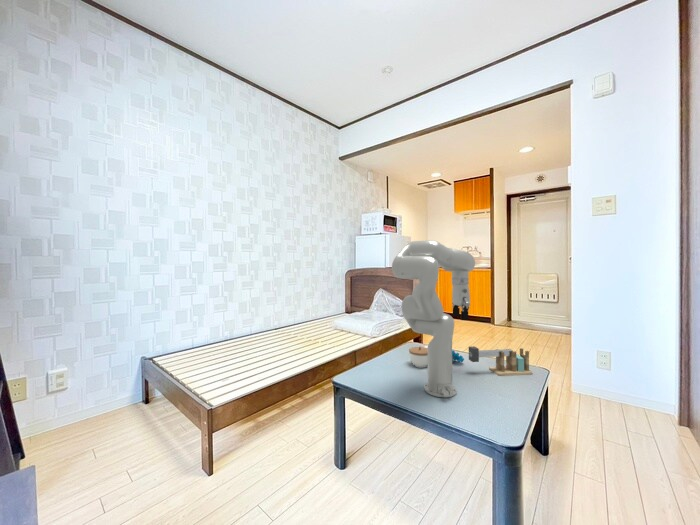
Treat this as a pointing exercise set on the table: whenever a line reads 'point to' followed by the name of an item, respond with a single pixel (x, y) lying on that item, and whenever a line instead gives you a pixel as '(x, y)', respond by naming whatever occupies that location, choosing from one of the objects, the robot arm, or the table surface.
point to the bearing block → (511, 364)
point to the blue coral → (457, 357)
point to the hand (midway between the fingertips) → (460, 317)
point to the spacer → (519, 363)
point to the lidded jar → (419, 356)
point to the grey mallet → (486, 353)
